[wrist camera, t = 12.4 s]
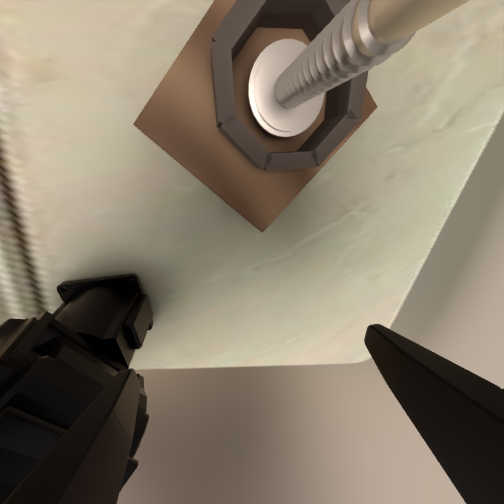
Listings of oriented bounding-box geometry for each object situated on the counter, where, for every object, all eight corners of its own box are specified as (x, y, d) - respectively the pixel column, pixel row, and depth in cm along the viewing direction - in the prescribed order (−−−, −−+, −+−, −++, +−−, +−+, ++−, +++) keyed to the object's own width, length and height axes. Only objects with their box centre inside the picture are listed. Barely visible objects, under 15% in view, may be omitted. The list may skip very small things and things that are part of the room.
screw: (259, 150, 16) (231, 74, 14) (318, 120, 16) (299, 39, 14) (393, 146, 4) (349, -329, 2) (611, 40, 4) (796, -575, 2)
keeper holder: (259, 228, 20) (271, 246, 16) (138, 126, 15) (115, 118, 11) (367, 109, 17) (410, 98, 14) (263, -62, 12) (286, -154, 9)
